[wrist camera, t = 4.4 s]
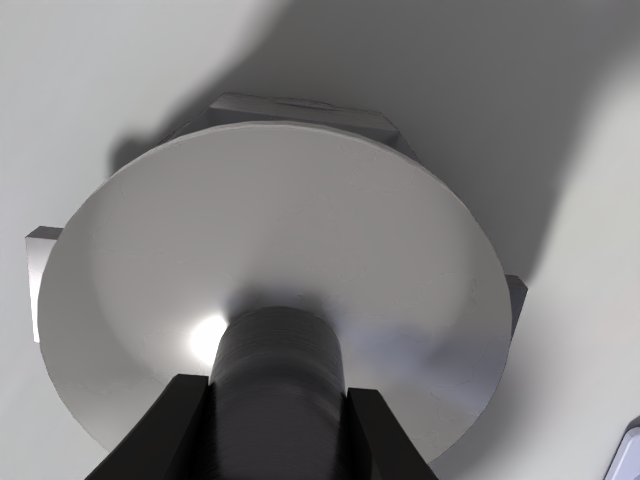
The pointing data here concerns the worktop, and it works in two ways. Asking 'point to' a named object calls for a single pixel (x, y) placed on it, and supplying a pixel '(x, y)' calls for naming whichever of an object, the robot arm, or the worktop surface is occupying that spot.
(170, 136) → the pot
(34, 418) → the worktop surface
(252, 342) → the lid
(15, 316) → the worktop surface
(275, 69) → the worktop surface
